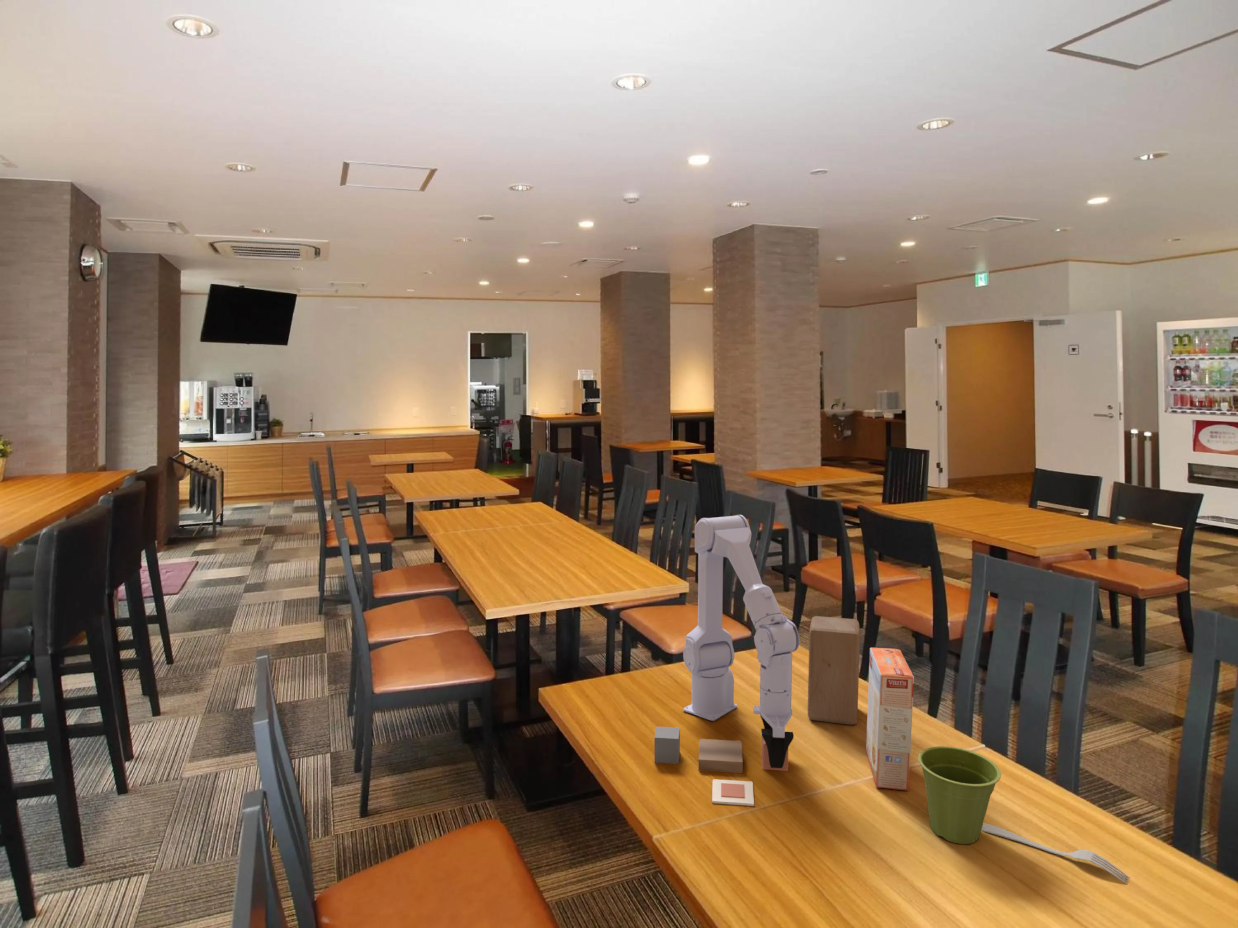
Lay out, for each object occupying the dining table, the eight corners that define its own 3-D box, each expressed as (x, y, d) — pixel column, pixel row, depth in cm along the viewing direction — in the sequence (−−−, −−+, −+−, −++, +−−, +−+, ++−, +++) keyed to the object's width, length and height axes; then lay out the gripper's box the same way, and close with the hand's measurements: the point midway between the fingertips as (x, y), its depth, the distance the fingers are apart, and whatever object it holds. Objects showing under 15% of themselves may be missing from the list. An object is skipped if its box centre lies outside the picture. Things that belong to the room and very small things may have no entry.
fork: (981, 837, 122) (980, 820, 122) (1135, 880, 108) (1134, 861, 107) (975, 845, 120) (974, 828, 119) (1132, 890, 105) (1131, 871, 105)
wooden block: (807, 721, 157) (809, 628, 155) (809, 701, 167) (811, 614, 164) (857, 727, 154) (860, 633, 152) (856, 706, 164) (859, 618, 161)
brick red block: (761, 757, 143) (762, 732, 142) (785, 758, 142) (786, 733, 141) (762, 769, 138) (763, 743, 138) (787, 770, 138) (788, 744, 137)
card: (712, 781, 134) (712, 777, 134) (752, 783, 133) (752, 780, 133) (712, 802, 127) (712, 799, 127) (754, 805, 126) (754, 802, 126)
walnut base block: (699, 750, 146) (699, 738, 146) (741, 753, 145) (741, 741, 145) (698, 772, 138) (698, 759, 138) (742, 774, 137) (742, 761, 137)
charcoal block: (656, 750, 145) (656, 726, 145) (679, 752, 145) (679, 727, 144) (654, 762, 141) (654, 737, 140) (678, 764, 140) (678, 738, 140)
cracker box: (911, 792, 130) (915, 676, 128) (874, 788, 131) (878, 674, 129) (898, 752, 144) (901, 647, 141) (865, 750, 145) (868, 645, 142)
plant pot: (950, 861, 112) (953, 789, 110) (899, 816, 123) (902, 751, 122) (1015, 847, 115) (1019, 777, 113) (959, 804, 126) (963, 741, 125)
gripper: (751, 670, 146) (750, 736, 148) (756, 702, 132) (755, 775, 133) (788, 671, 145) (787, 738, 147) (797, 703, 131) (795, 777, 132)
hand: (774, 756), depth 140 cm, fingers open, 7 cm apart
